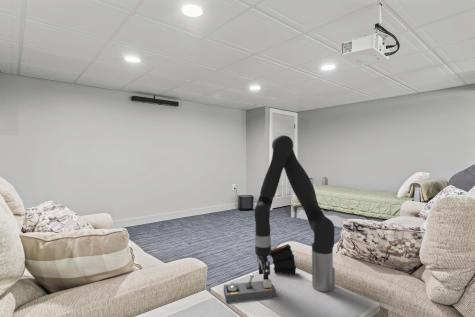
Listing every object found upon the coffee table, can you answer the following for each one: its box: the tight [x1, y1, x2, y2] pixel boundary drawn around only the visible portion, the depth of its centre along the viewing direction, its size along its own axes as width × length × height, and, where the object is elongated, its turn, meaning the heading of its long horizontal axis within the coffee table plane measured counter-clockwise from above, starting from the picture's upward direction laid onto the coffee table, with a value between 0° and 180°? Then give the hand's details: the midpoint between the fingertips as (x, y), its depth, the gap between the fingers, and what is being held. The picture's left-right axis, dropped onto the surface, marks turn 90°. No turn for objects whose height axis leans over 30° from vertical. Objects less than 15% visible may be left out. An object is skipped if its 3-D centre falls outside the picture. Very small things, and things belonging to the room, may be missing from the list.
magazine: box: [269, 243, 297, 276], centre depth 138 cm, size 4×13×15 cm, turn 72°
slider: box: [262, 278, 273, 288], centre depth 118 cm, size 3×2×3 cm, turn 100°
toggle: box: [248, 273, 255, 284], centre depth 118 cm, size 2×2×4 cm
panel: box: [223, 280, 277, 303], centre depth 118 cm, size 22×9×4 cm, turn 100°
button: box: [228, 282, 238, 293], centre depth 117 cm, size 4×4×3 cm
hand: (263, 277), depth 124 cm, fingers open, 8 cm apart
